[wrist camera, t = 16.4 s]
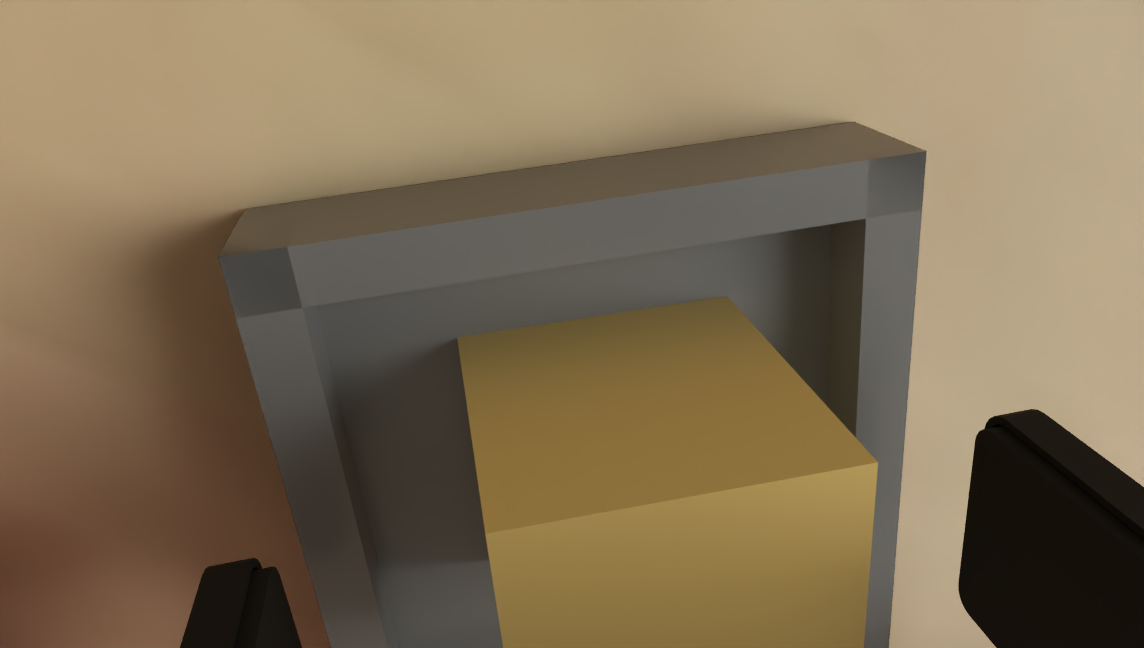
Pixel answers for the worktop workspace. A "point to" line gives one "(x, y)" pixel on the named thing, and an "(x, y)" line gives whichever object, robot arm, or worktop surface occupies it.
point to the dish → (541, 296)
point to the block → (665, 486)
